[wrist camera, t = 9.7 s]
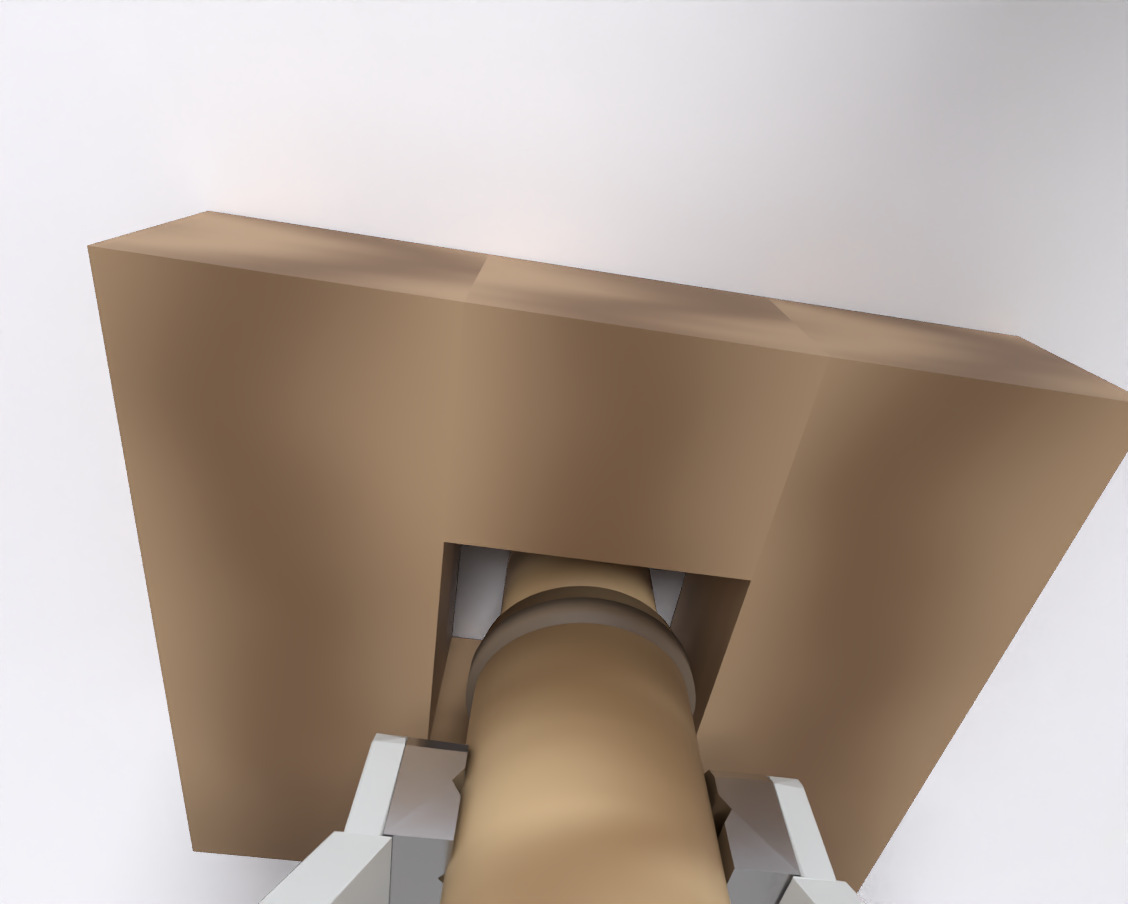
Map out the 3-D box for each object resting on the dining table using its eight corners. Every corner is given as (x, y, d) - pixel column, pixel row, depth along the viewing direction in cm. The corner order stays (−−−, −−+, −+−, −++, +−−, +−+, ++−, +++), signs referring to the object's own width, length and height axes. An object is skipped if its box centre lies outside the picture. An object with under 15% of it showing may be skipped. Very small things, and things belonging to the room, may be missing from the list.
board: (1018, 336, 13) (1155, 405, 10) (801, 785, 20) (845, 911, 17) (207, 210, 12) (87, 245, 9) (254, 728, 19) (192, 851, 16)
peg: (686, 508, 15) (965, 1464, 4) (646, 648, 17) (777, 1544, 6) (498, 483, 15) (320, 1436, 4) (480, 629, 17) (329, 1530, 6)
